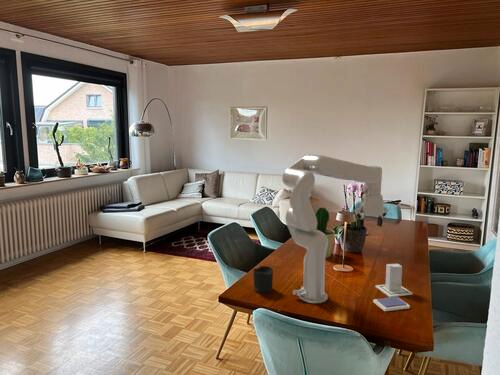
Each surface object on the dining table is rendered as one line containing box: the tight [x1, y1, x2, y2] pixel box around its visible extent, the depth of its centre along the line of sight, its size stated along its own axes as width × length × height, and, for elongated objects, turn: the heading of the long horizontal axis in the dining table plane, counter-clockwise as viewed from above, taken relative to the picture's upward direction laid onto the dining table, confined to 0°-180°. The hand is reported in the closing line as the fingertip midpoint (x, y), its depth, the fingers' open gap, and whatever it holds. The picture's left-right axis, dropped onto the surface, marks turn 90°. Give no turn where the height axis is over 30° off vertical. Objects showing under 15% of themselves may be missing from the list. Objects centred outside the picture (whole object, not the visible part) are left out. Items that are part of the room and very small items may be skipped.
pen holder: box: [252, 265, 274, 294], centre depth 181 cm, size 9×9×10 cm
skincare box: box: [384, 263, 403, 291], centre depth 179 cm, size 6×4×12 cm
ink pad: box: [372, 296, 411, 312], centre depth 165 cm, size 12×9×2 cm
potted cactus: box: [315, 207, 336, 259], centre depth 229 cm, size 15×15×30 cm
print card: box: [375, 283, 414, 298], centre depth 180 cm, size 12×12×1 cm
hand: (370, 226), depth 185 cm, fingers open, 9 cm apart
